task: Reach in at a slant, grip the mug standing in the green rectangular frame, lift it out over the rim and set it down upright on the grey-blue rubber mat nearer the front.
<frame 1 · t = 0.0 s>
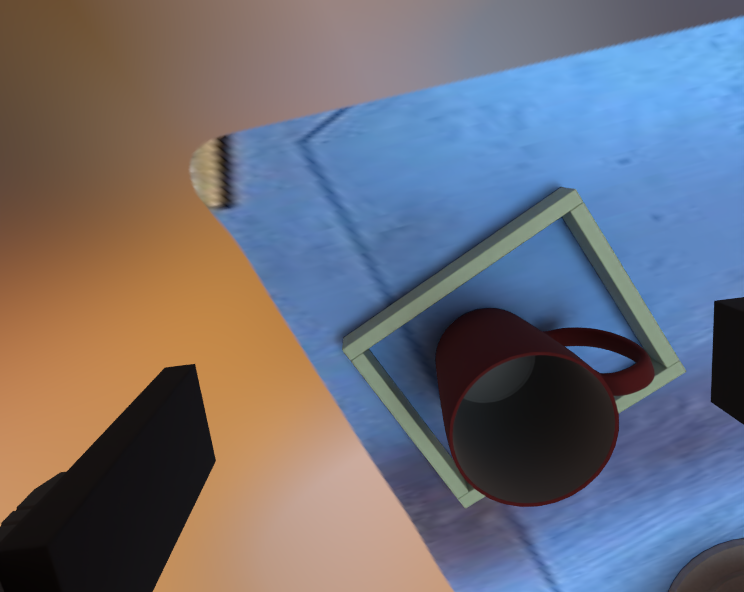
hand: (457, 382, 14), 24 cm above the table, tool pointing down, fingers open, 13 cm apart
green rectangular frame: (506, 348, 39), on the table
mug: (505, 347, 39), resting in green rectangular frame
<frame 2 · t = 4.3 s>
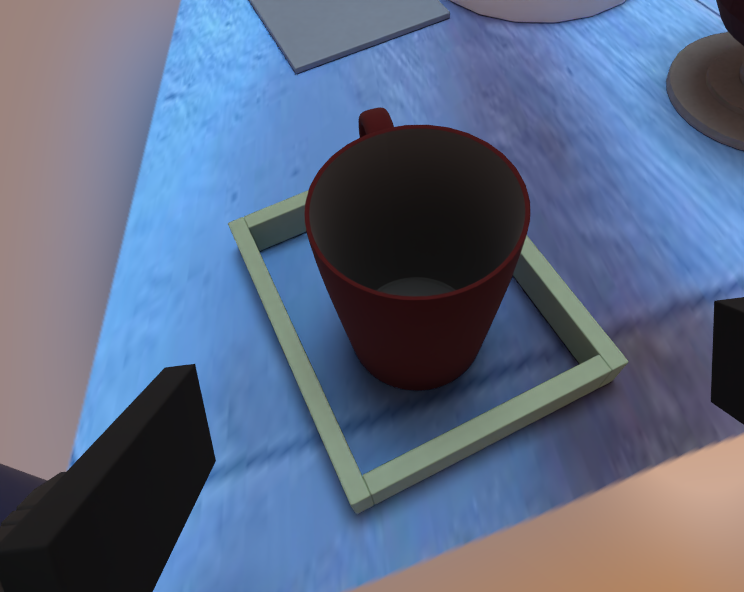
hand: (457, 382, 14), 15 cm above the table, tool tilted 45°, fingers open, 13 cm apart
green rectangular frame: (407, 307, 32), on the table
mug: (407, 308, 32), resting in green rectangular frame
mat: (340, 2, 48), on the table
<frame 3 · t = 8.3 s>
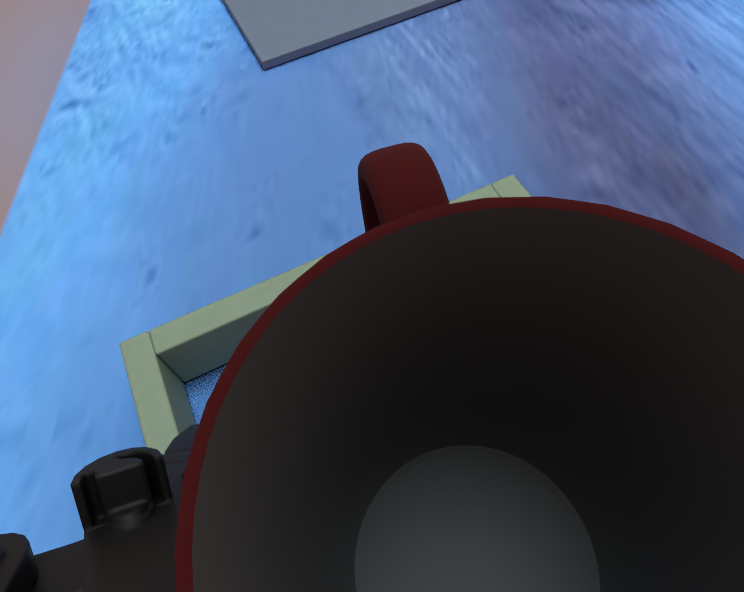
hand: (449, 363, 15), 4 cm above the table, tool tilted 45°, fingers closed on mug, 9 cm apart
green rectangular frame: (455, 510, 17), on the table
mug: (455, 511, 17), resting in green rectangular frame, touching gripper
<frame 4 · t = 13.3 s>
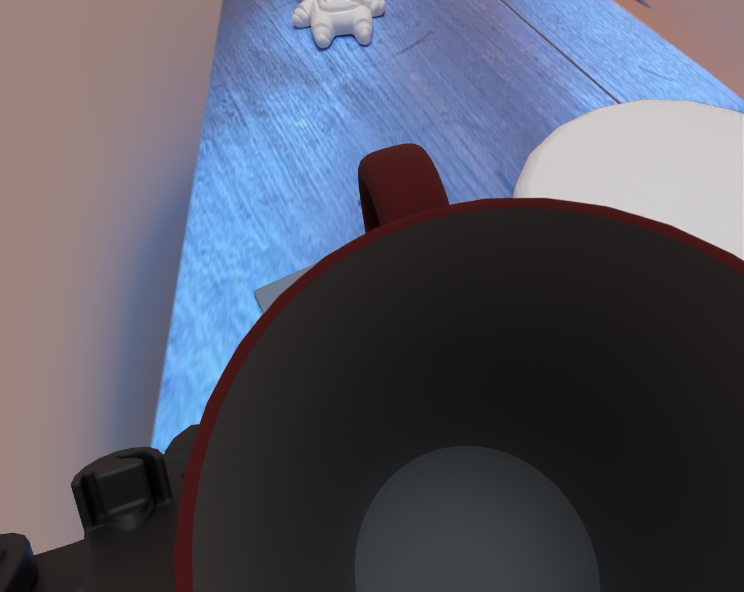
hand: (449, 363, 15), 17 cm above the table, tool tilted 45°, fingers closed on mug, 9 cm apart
astronaut figurine: (339, 14, 52), on the table
mug: (455, 512, 17), point 13 cm above the table, touching gripper
container: (657, 254, 36), on the table
mat: (395, 332, 34), on the table
when the fingers open (4 cm above the table, at t = 18.6 s): mug stays where it is, resting on mat.
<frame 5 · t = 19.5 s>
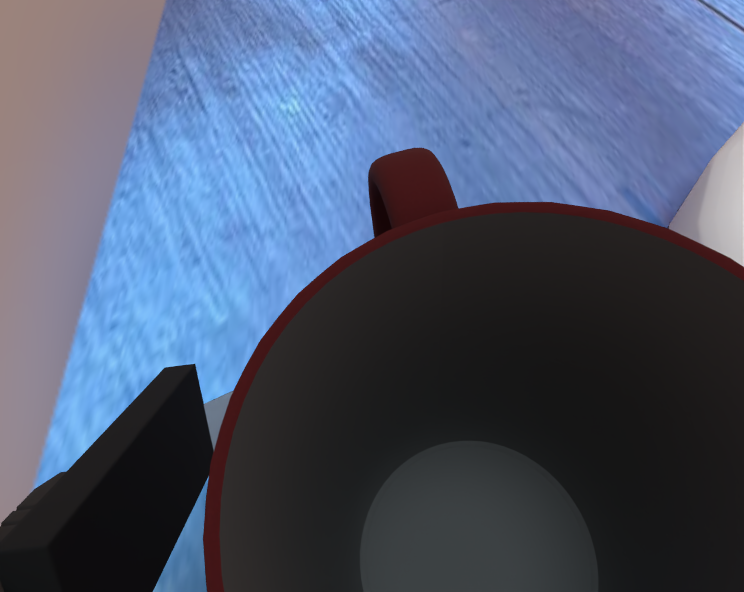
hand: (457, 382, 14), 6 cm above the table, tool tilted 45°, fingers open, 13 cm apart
mug: (457, 505, 17), resting on mat
mat: (462, 505, 17), on the table
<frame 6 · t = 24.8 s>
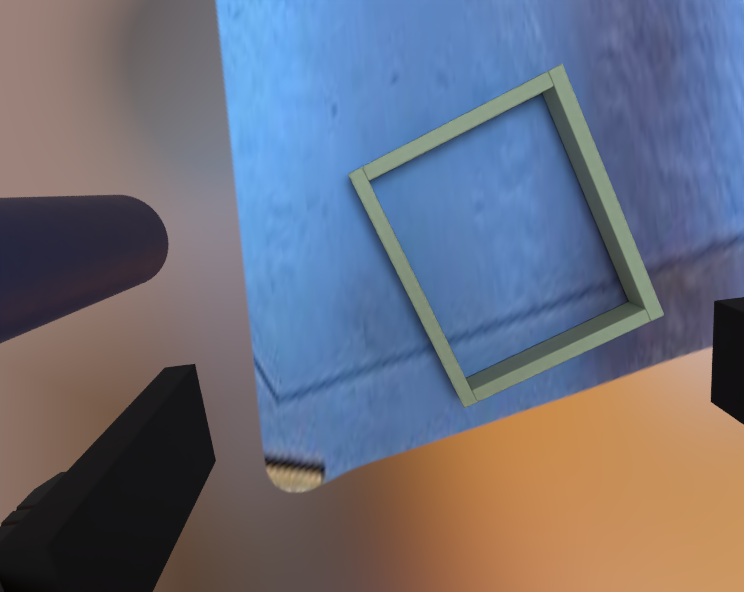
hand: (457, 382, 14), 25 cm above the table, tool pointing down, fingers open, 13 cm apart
green rectangular frame: (501, 242, 38), on the table
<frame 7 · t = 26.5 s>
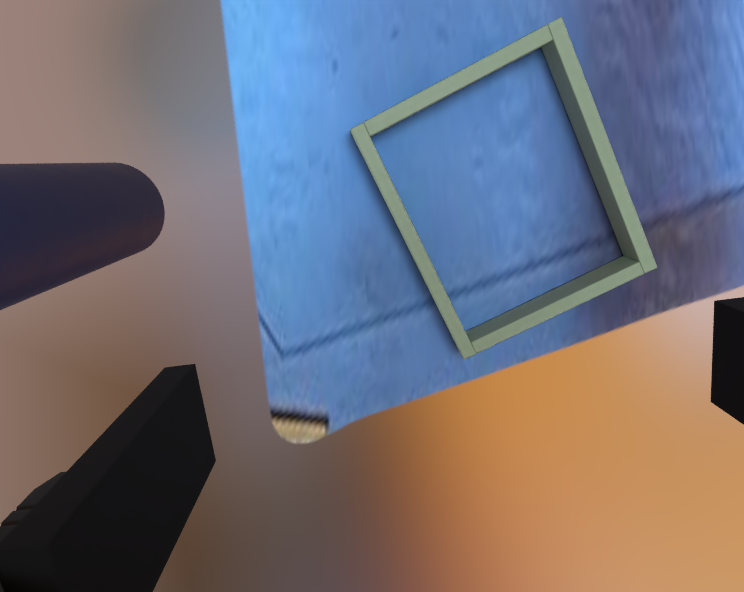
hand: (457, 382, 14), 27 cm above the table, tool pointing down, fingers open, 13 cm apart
green rectangular frame: (500, 198, 39), on the table
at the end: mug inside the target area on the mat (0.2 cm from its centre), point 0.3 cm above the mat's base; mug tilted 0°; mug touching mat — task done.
